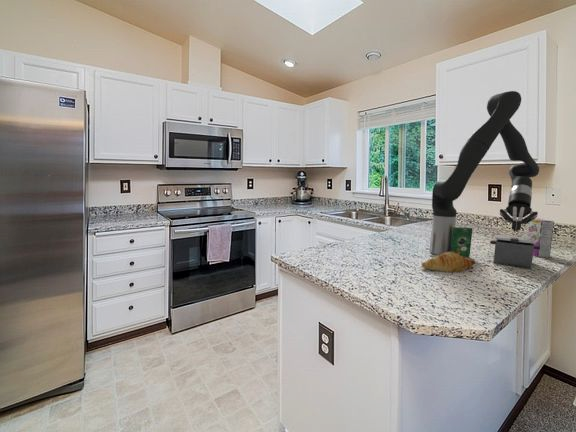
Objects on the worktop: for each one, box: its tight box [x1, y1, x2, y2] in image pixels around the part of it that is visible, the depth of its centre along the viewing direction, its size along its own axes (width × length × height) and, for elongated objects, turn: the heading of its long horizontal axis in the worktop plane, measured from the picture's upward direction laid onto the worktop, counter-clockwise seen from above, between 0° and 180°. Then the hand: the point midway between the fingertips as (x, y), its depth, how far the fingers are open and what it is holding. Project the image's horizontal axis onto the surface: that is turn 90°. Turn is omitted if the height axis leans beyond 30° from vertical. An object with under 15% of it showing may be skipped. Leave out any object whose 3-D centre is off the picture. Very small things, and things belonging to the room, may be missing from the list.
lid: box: [494, 234, 535, 244], centre depth 119 cm, size 12×18×1 cm
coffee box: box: [451, 226, 473, 258], centre depth 130 cm, size 8×3×13 cm, turn 103°
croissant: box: [421, 252, 476, 273], centre depth 114 cm, size 21×10×8 cm
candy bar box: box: [525, 216, 555, 258], centre depth 136 cm, size 11×5×16 cm, turn 168°
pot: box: [489, 239, 540, 270], centre depth 122 cm, size 16×12×9 cm
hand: (515, 230), depth 119 cm, fingers closed
